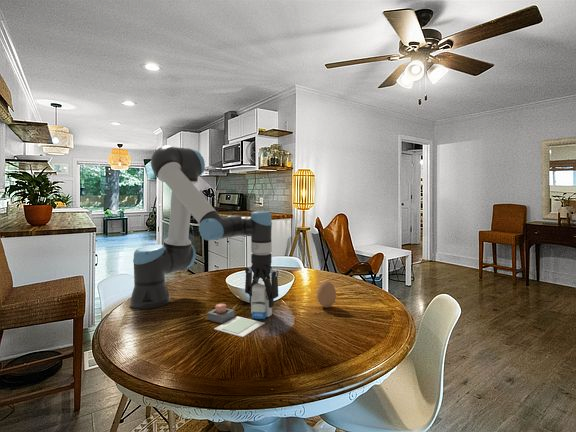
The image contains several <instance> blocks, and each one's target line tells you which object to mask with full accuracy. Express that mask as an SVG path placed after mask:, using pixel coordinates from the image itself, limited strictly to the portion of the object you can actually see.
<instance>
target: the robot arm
mask: <svg viewBox="0 0 576 432" xmlns="http://www.w3.org/2000/svg"><path fill="white" fill-rule="evenodd" d="M150 166H151V169H152V171H153V174H154V175H155V176H156V178H157V179H158V180H159V181H160V182H162V183H165V184H166V185H167V186H168V188H169V189H170V191H171V197H170V198H171V199H170V209H169V210H170V212H169V221H168V234H167V237H166V238H165V239H164V240H163V244H157V243H156V244H151V245H150V244H148V245H143V246H141V247H138V248H137V249H135V251H134V253H133V259H132V262H133V279H134V282H133V283H134V284H133V285H134V286H133V290H132V292H131V293H132V294H131V297H130V299H129V304H130V307H131V308H133V309H136V310H137V309H139V310H148V309H155V308H159V307H162V306H166V305H167V304H168V303H170V301H171V297H170V296H171V295H170V293H169V290H168V287H167V285H166V275H168V274H171V273H175V272H180V271H184V270H187V269H189V268H191V267H192V266H193V265H194V263H195V260H196V257H197V253H196V252H197V251H196V250H195V247H194V246H193V245H192V241H191V240H190V238H189V237H190V235H189V233H190V225H191V216H192V217H193V219H195V221H196V222H197V223H198V224H199V225H198V232H199V235H200V237H201V239H203V240H205V241H218V240H222V239H228V238H234V237H238V236H243V237H251V238H250V240H251V242H250V243H251V245H250V248H251V250H250V251H251V256H250V257H251V259H250V261H251V266H247V267H245V268H244V271H245V282H244V283H245V285H244V292H245V294H248V296H249V304H250V314H252V286H253V285H255V284H256V283H258V281H260V279H262V282H264V284H265V287H266V292H267V296H268V299H266V318H269V317H270V316H272V315H273V313H272V312H273V308H274V306H275V305H274V299H276V298H278V297H279V282H278V277H279V276H278V275H279V272H280V271H279V270H274V269H273V267H272V262H273V261H272V257H273V256H272V255H273V254H272V247H273V246H272V243H273V242H272V229H273V228H272V227H273V226H272V225H273V222H272V213H271V212H270V211H265V210H264V211H263V210H262V211H259V210H258V211H257V210H256V211H252V212H251V214H250V216H247V215H246V216H245V215H238V214H236V215H232V214H231V215H227V216H221V215H220V213H218V211H217V210H216V209H215V208H214V207H213V206H212V205H211V203H210V202H209V200H208V199H207V198H205V196H204V195H203V194H202V193H201V191H200V190H199V189H198V187H196V186H195V185H196V184H197V183H198V180H199V177H200V176H202V175H203V173H204V172H205V168H206V164H205V159H204V157H203V156H202V154H201V152H199V151H198V150H196V149H192V148H187V147H186V148H184V147H178V146H172V145H164V146H160V147H158V148H157V149H156V150H155V151H154V152H153V153H152V156H151V158H150Z"/></svg>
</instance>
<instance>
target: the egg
mask: <svg viewBox="0 0 576 432" xmlns="http://www.w3.org/2000/svg"><path fill="white" fill-rule="evenodd" d="M316 299H317V301H318V304H319V305H321V307H323V308H326V309H327V308H328V309H329V308H331V307H332V306H333V305H334V304H335V302H336V299H337V293H336V288H335V286H334V284H333V283H332V282H331V281H329V280H324V281H322V282H321V283H320V284H319V286H318V289H317V291H316Z"/></svg>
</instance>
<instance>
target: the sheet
mask: <svg viewBox="0 0 576 432" xmlns="http://www.w3.org/2000/svg"><path fill="white" fill-rule="evenodd" d="M265 324H266V323H265V322H262V321H258V320H254V319H251V318H248V317H247V318H246V317H242V316H237V315H236V316H235V317H233V318H231V319H229V320H228V321H226V322H224V323H221V324H220V325H218V326H216V327H214V328H213V330H215V331H219V332H223V333H226V334H229V335H232V336H237V337H239V338H245V337H246V336H248V335H249V334H250V333H252V332H254V331H256V330H257V329H259V328H261V326H263V325H265Z"/></svg>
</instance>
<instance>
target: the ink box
mask: <svg viewBox="0 0 576 432" xmlns="http://www.w3.org/2000/svg"><path fill="white" fill-rule="evenodd" d="M266 299H268V296H267V292H266V287H265V284H264V282H263V280H262V281H260V280H259V281H258V283H256V284H255V285H253V286H252V313H251V314H252V317H251V318H252V319H256V320H266V318H267V317H266Z"/></svg>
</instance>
